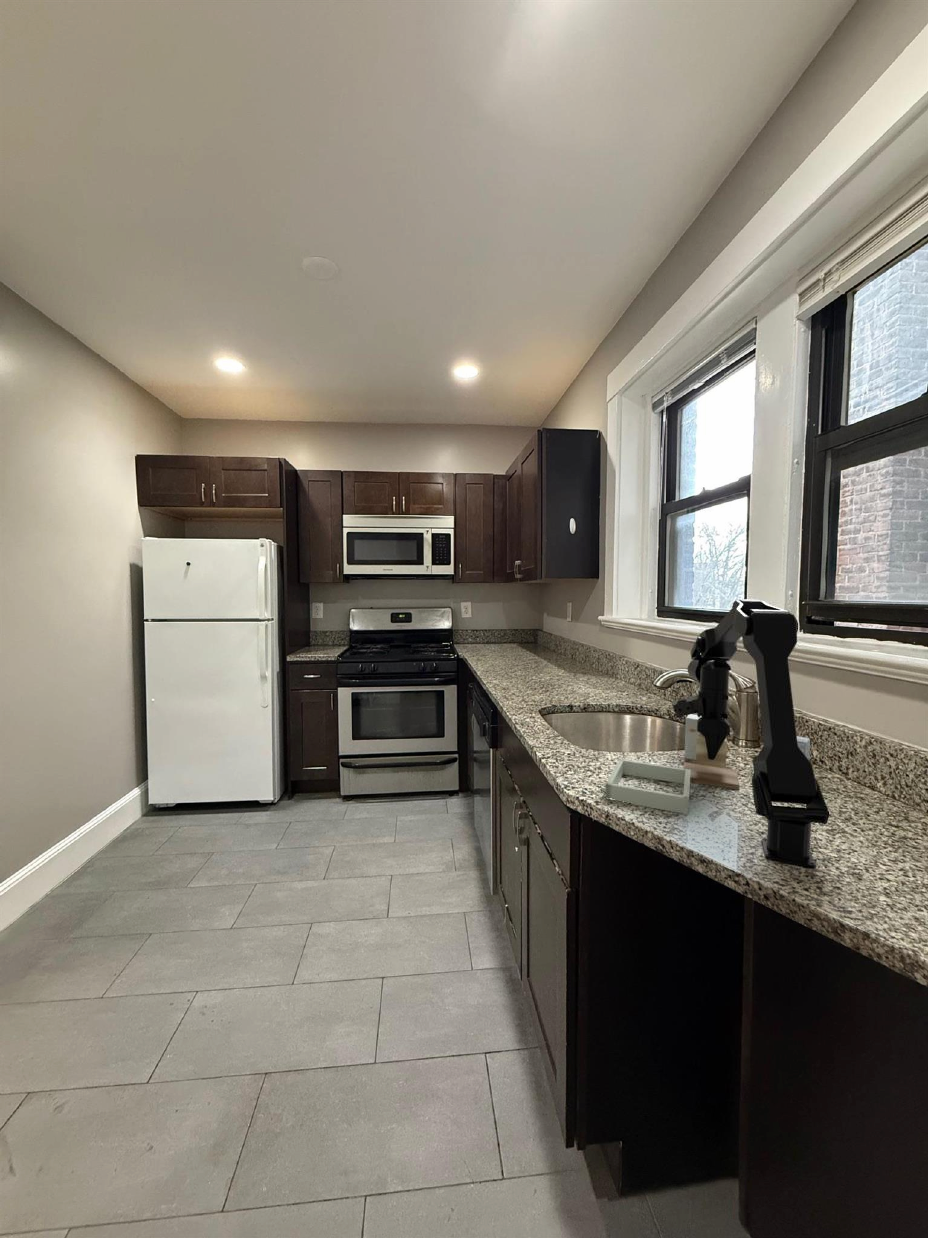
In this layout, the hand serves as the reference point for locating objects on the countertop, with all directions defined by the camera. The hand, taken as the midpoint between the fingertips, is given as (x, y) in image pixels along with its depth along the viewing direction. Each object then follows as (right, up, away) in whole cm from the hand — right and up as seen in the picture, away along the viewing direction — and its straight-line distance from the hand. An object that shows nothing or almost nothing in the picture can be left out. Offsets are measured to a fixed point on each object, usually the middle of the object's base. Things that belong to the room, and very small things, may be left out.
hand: (710, 756), depth 114 cm
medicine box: (+20, -5, +5) cm, 21 cm away
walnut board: (0, -5, 0) cm, 5 cm away
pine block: (0, -2, 0) cm, 2 cm away
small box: (+5, -5, +14) cm, 16 cm away
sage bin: (-17, -5, -9) cm, 20 cm away
